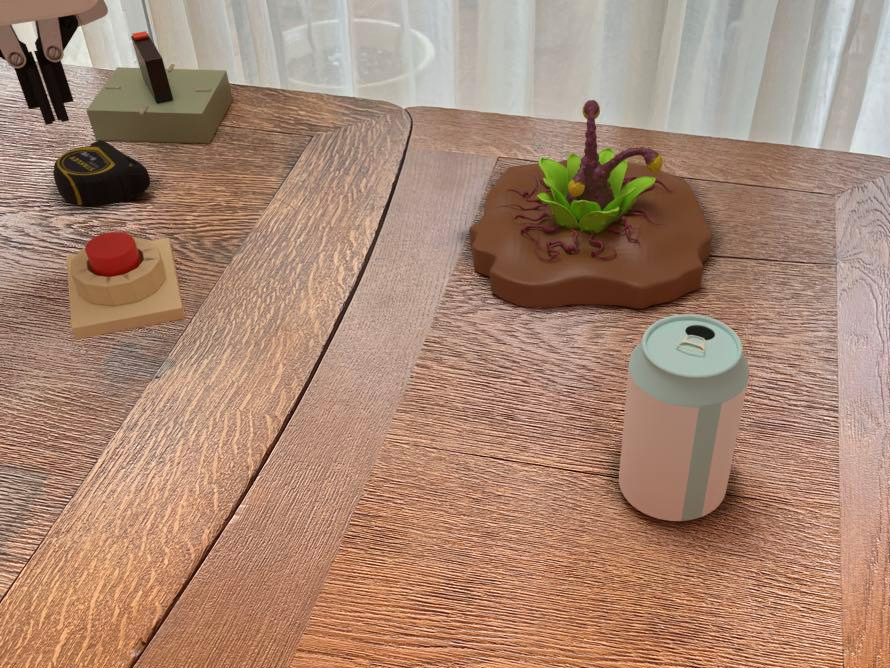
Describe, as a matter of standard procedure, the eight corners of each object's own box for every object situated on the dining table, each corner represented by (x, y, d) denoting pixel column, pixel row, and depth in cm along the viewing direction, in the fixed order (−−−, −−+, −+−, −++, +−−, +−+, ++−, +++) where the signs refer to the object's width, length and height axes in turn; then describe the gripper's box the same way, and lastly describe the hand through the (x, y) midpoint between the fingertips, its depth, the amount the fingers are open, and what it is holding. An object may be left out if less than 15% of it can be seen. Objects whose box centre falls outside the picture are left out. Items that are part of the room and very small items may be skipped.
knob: (173, 100, 97) (161, 54, 94) (156, 103, 97) (143, 58, 94) (159, 74, 101) (147, 29, 98) (142, 77, 100) (129, 33, 97)
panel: (93, 143, 98) (82, 111, 96) (127, 94, 105) (118, 62, 102) (208, 147, 98) (199, 114, 95) (234, 97, 104) (227, 65, 102)
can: (606, 460, 70) (616, 314, 61) (704, 444, 71) (729, 299, 62) (635, 536, 65) (651, 391, 56) (740, 518, 66) (772, 372, 57)
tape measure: (159, 198, 92) (147, 159, 89) (89, 228, 88) (74, 188, 86) (118, 170, 95) (106, 131, 92) (49, 198, 91) (34, 159, 89)
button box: (75, 278, 83) (58, 235, 80) (175, 260, 85) (162, 217, 82) (81, 352, 77) (62, 308, 74) (189, 331, 79) (176, 287, 76)
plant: (699, 183, 94) (715, 58, 85) (717, 313, 81) (738, 181, 72) (480, 179, 94) (474, 54, 86) (462, 307, 81) (454, 176, 73)
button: (91, 256, 79) (83, 236, 78) (139, 247, 80) (132, 228, 79) (93, 282, 77) (86, 262, 76) (143, 273, 78) (136, 253, 76)
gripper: (-198, -168, 54) (-55, 161, 68) (97, -195, 58) (174, 118, 72) (-201, -206, 58) (-67, 110, 72) (73, -228, 63) (150, 73, 77)
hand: (54, 113), depth 72 cm, fingers closed
